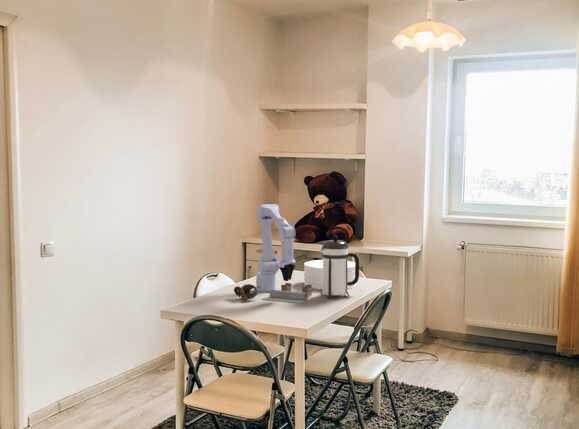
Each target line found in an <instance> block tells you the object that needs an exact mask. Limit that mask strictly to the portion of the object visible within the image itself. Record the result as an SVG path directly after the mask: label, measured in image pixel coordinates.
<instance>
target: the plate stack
mask: <svg viewBox="0 0 579 429" xmlns="http://www.w3.org/2000/svg"><path fill="white" fill-rule="evenodd" d="M303 264H304V265H303V266H304V268H303V271H304V273H303V276H304V278H303V279H304V280H303V281H304V282H303V285H304V286H305V287H306V285H312V289H313V288H314V290H320V289H322V290H323V259H317V260H316V259H315V260H309V261H305V262H304V263H303ZM354 279H355V262H354V261H349V260H348V261H347V282H352V281H353V280H354ZM357 283H358V282H357ZM357 283H356V284H354V285H350V286H348V287H347V290H350V289H353V288H356V287H357V285H358V284H357ZM322 290H321V291H322Z"/></svg>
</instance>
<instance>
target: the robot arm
mask: <svg viewBox="0 0 579 429" xmlns="http://www.w3.org/2000/svg"><path fill="white" fill-rule="evenodd" d="M256 216H257V221H258V222H259V223H260V229H261V242H262V255H260V256H259V257H258V259H257V270H258V272H257V274H256V278H255V281H256V282H255V287H256V289H257V292H264V293H265V292H267V293H270V290H279V288H278V287H277V286H276V282H277V280H276V274H278V271H279V270H280V272H281V274H282V279H283V281H284V282H288V281H291V279H292V276H293V273H294V270H295V268H296V262H297V261H296V259H295V258H294V239H295V238H296V236H297V234H296V233H297V232H296V228H295V226H294V225H290V224H289V223H288V221H287V220H286V218H285V217H282V216H281V214H280V208H279V205H278V204H277V203H274V204H273V203H272V204H271V203H270V204H259V205H258V206H257V209H256ZM272 222H274V226H275V228H276V229H277V230H278V235H279V240H280V242H281V247H280V248H281V250H280V251H281V252H280V253H281V254H280V255H281V256H280V257H281V258H280V262H279V259H278V256H276V255H275V254H274V253H273V252H274V251H273V242H272V241H273V239H272V228H271V227H272V226H271V225H272V224H271V223H272Z"/></svg>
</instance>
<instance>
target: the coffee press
mask: <svg viewBox="0 0 579 429" xmlns="http://www.w3.org/2000/svg"><path fill="white" fill-rule="evenodd" d="M338 237H339V236H338V235H336V234H334V235H333V236H332V239H329V240H326V241H324V242H323V243H322V245H321V246H322V247H321V248H320V251H319V253H322V260H323V290H321V291H320V293H319V294H320V295H321V296H324V295H327V299H328V300H331V299H332V297H333V296H344V297H345V298H347V299H348V298H350V295H349V292H348V289H347V287H348V286H350V285H354V284H356V283H358V281H359V279H360V278H359V277H360V259H359V256H358V255H357V254H356V253H355V252H354V253H353V252H348V250H349V245H348V243H347V242H346V241H345V240H342V239H338ZM349 257H352V258H354V261H355V262H354V263H355V279H354V280H353V281H352V282H347V261H349V260H348V258H349Z"/></svg>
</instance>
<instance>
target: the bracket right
mask: <svg viewBox="0 0 579 429" xmlns="http://www.w3.org/2000/svg"><path fill="white" fill-rule="evenodd" d="M301 292H305V293H307V298H309V297H311V296H312V295H313V294H312V293H313V288H312V285H306V286H305V285H304V286H301Z"/></svg>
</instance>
